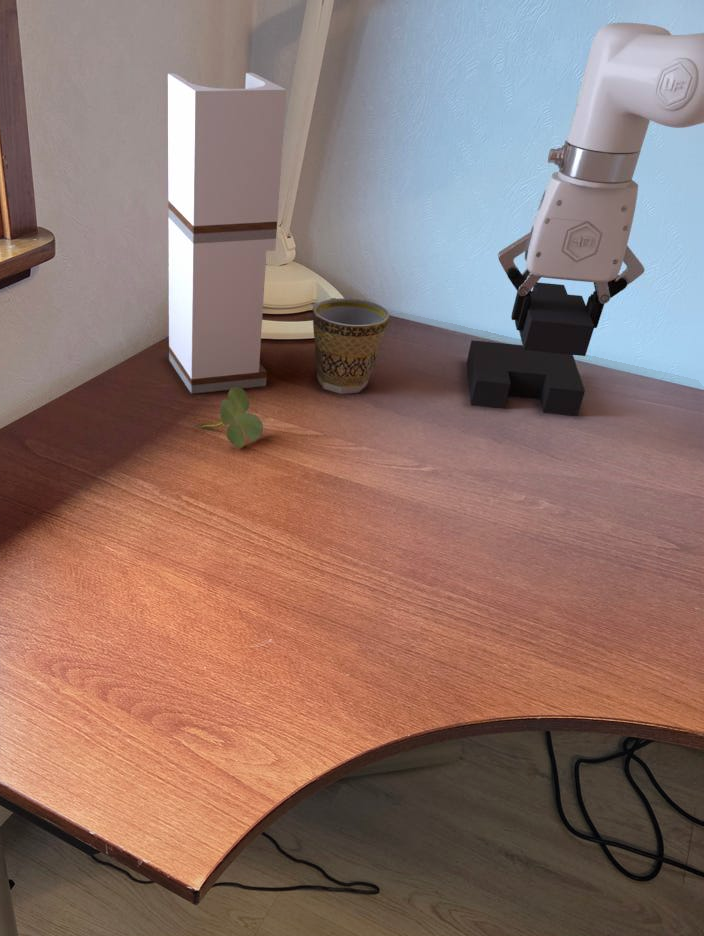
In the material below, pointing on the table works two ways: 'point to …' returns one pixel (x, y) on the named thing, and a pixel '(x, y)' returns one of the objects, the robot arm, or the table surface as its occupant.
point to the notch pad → (523, 377)
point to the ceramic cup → (347, 342)
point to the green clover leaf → (239, 418)
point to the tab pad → (556, 322)
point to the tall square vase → (221, 227)
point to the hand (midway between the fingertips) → (551, 328)
